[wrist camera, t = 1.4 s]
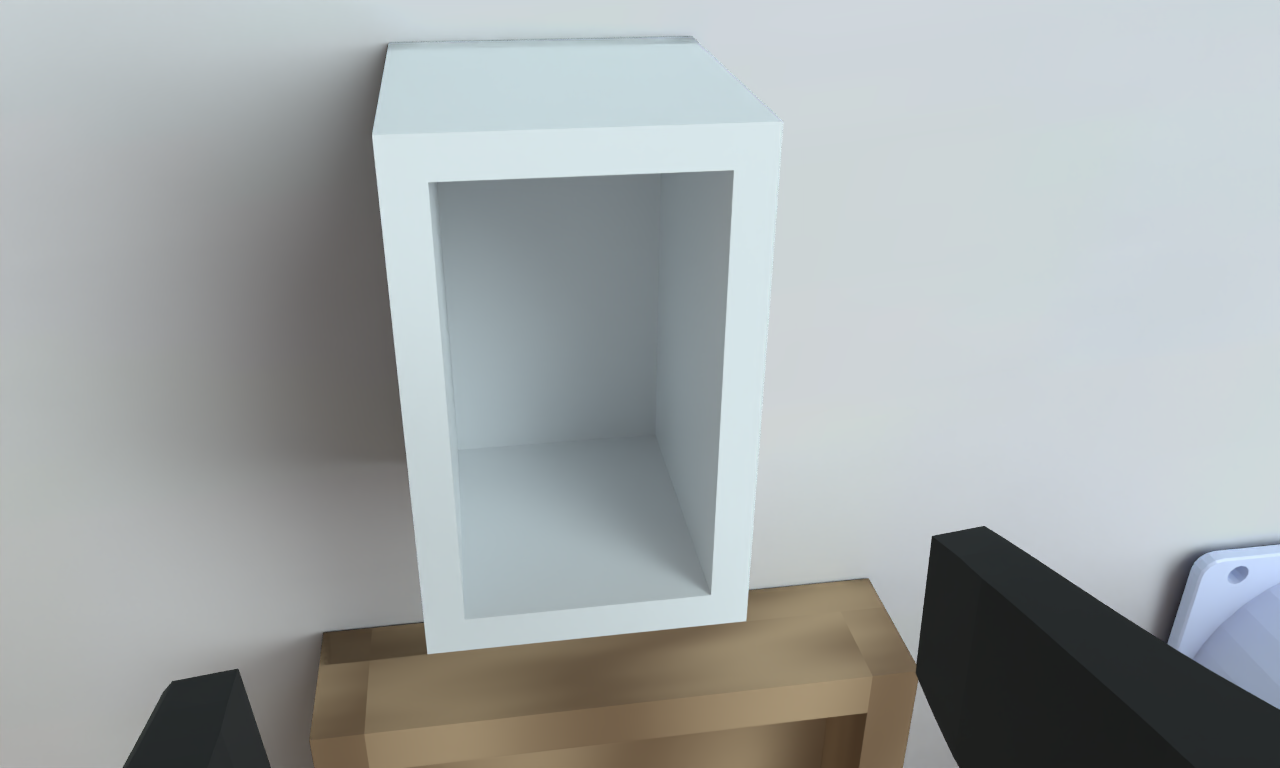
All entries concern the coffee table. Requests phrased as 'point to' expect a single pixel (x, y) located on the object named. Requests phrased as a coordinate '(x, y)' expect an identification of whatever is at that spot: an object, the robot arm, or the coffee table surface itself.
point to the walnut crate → (631, 694)
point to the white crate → (577, 330)
